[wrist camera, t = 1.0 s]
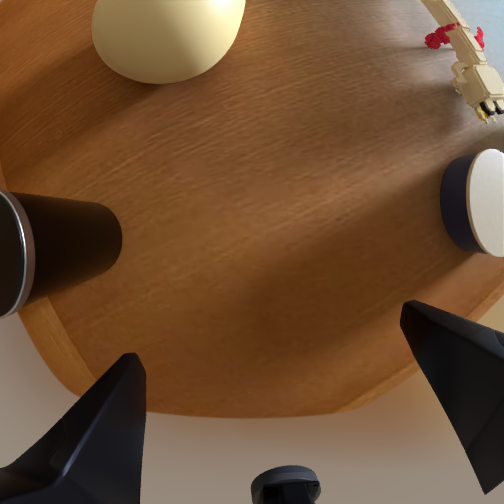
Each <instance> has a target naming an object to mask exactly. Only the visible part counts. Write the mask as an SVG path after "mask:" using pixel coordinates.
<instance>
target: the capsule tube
mask: <svg viewBox="0 0 504 504" xmlns="http://www.w3.org/2000/svg"><path fill="white" fill-rule="evenodd" d="M121 247H122V231H121V227H120V224H119V222H118V220H117V218H116V216H115V215H114V213H113V212H112V211H111V210H110V209H109V208H107V207H106V206H104V205H102V204H99V203H93V202H86V201H79V200H71V199H64V198H56V197H49V196H41V195H33V194H25V193H16V192H8V191H6V190H4V189H0V319H2V318H5V317H7V316H9V315H11V314H13V313H15V312H16V311H18V310H19V309H20V308H22V307H24V306H26V305H28V304H30V303H33V302H35V301H37V300H40V299H42V298H44V297H46V296H49V295H51V294H53V293H56V292H58V291H60V290H63V289H65V288H67V287H70V286H72V285H74V284H77V283H79V282H81V281H84V280H86V279H89V278H91V277H93V276H96V275H98V274H101V273H103V272H105V271H107V270H108V269H109V268H111V267H112V266H113V265H114V263H115V262H116V260H117V259H118V257H119V254H120V251H121Z"/></svg>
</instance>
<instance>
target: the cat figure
mask: <svg viewBox="0 0 504 504" xmlns="http://www.w3.org/2000/svg"><path fill="white" fill-rule="evenodd" d="M421 2H422V3H423V4H424V5H425V7H426V8H427V9H428V10H429V12H430V13H431V14H432V16H433V17H434V18H435V19H436V21H437V22H438V24H439V25H440V26H441V28H440V27H439V28H438V29H437V30H436V31H435V33H431V34H428V35H427V36H426V37H425V40H426V41H425V42H424V43H425V44H426V45H427V46H428V47H430V49H438V48H439V47H440V46H441V44H440V43H442V42H443V43H444V44H447V43H450V44H451V45H452V47H453V48H454V50H455V52H456V57H457V58H458V60H459V62H455V63H454V64H453V66H451V67H452V71H453V73H454V75H455V76H456V77H455V78H454V79H452V80H451V83H452V85H453V86H455V87H459V89H460V91H459V90H458V89H455V91H456V92H458V94H459V95H460V94H462V95H463V97H464V99H465V101H466V103H467V104H469V106H472V108H474V109H475V111H476V113H477V115H478V117H479V119H481V121H485V123H486V124H488V123H489V122H488V120H487V119H488V116H489V118H492V120H493V123H495V122H496V120H495V117H492V115H494V114H495V113H494V111H495V112H497V114H498V115H499V114H503V113H504V103H503V101H502V100H503V99H504V84H503V82H502V80H501V79H500V77H499V75H498V73H497V71H496V70H494V68H493V67H491V66H487V64H486V61H487V60H486V59H485V57H484V55H483V54H482V51H484V50H483V47H484V42H483V41H482V40H483V39H482V38H483V32H482V30H481V29H480V27H477V29H478V30H479V31H477V33H478V34H477V36H473V35H472V33H471V32H470V29H469V28H470V27H469V26H468V25H467V23H466V22H465V20H464V19H463V18H462V16H461V15H460V14H459V12H458V11H457V10H456V9H455V7H454V6H453V5H452V4H451V2H450V1H449V0H421ZM463 69H464V70H465V71H463V72H462V70H463ZM461 72H462V73H461Z"/></svg>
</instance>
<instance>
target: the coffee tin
mask: <svg viewBox="0 0 504 504" xmlns="http://www.w3.org/2000/svg"><path fill="white" fill-rule="evenodd" d="M440 202H441V211H442V216H443V220H444V224H445V226H446V229H447V231H448V233H449V235H450V237H451V238H452V240H453V241H454V242H455V243H456V244H457V245H458V246H459V247H460V248H462V249H464V250H466V251H471V252H478V253H484V254H489V255H491V256H494V257H504V154H503V153H502V152H500V151H498V150H495V149H487V150H483V151H481V152H480V153H477V154H472V155H468V156H464V157H460V158H457V159H456V160H454V161H453V162H452V163H451V164H450V165H449V166H448V168H447V170H446V172H445V174H444V177H443V180H442V185H441V194H440Z"/></svg>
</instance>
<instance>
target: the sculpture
mask: <svg viewBox="0 0 504 504" xmlns="http://www.w3.org/2000/svg"><path fill="white" fill-rule="evenodd" d="M244 7H245V0H97V2H96V5H95V8H94V11H93V16H92V25H91V30H92V38H93V43H94V46H95V48H96V51H97V53H98V54H99V56H100V58H101V59H102V60H103V61H104V63H105V64H106V65H107V66H109V67H110V68H111V69H112V70H114V71H115V72H117V73H118V74H120V75H122V76H124V77H127V78H129V79H132V80H135V81H139V82H143V83H150V84H168V83H175V82H180V81H184V80H188V79H191V78H193V77H196V76H198V75H200V74H202V73H204V72H205V71H207V70H208V69H210V68H211V67H213V66H214V65H215V64H216V63H217V62H218V61H219V60H220V59H221V58H222V57H223V56H224V55H225V54H226V52H227V51H228V50H229V48H230V47H231V45H232V43H233V41H234V39H235V37H236V35H237V32H238V29H239V26H240V22H241V19H242V15H243V12H244Z"/></svg>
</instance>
